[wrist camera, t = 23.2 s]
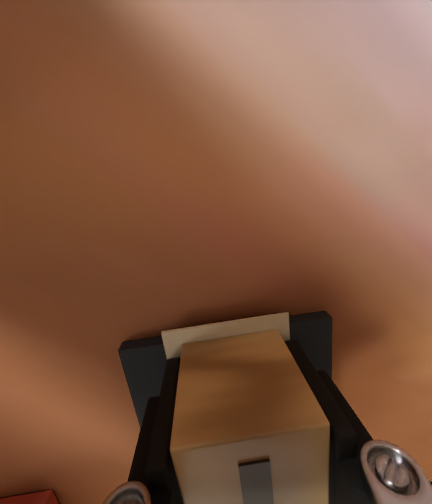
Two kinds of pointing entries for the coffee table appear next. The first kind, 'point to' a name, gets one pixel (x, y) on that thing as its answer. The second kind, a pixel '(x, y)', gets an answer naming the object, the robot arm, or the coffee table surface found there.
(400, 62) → the coffee table surface
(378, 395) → the coffee table surface
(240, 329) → the word board
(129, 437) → the coffee table surface
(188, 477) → the maple letter block
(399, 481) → the robot arm
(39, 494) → the brick-red letter block
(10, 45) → the coffee table surface
